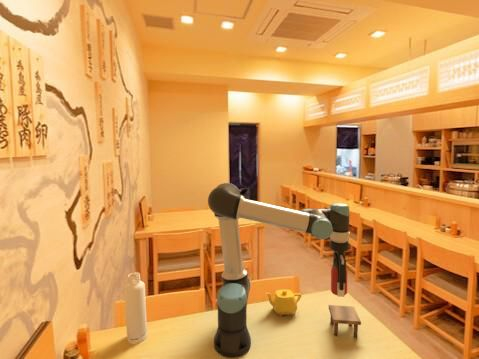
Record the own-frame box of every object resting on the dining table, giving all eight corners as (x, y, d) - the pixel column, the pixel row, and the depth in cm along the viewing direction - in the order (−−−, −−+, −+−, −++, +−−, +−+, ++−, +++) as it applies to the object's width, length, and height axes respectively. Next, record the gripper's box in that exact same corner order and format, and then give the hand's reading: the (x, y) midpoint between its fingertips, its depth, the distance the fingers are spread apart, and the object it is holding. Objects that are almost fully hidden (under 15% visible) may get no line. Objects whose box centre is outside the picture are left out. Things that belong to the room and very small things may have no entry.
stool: (332, 337, 117) (333, 319, 116) (328, 321, 128) (328, 304, 127) (360, 339, 115) (360, 321, 115) (353, 323, 126) (353, 306, 125)
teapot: (267, 319, 130) (267, 297, 129) (263, 305, 141) (263, 285, 140) (304, 316, 131) (305, 295, 130) (297, 303, 142) (298, 284, 141)
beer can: (348, 297, 115) (348, 269, 114) (331, 296, 117) (332, 268, 115) (345, 289, 122) (346, 263, 120) (330, 288, 123) (330, 262, 122)
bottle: (142, 328, 124) (139, 268, 121) (150, 337, 118) (147, 274, 115) (124, 337, 118) (120, 274, 115) (132, 346, 112) (128, 281, 109)
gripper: (355, 248, 107) (354, 304, 109) (343, 233, 126) (343, 281, 128) (334, 248, 108) (334, 303, 110) (326, 232, 127) (326, 280, 129)
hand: (339, 291), depth 119 cm, fingers closed on beer can, 7 cm apart
